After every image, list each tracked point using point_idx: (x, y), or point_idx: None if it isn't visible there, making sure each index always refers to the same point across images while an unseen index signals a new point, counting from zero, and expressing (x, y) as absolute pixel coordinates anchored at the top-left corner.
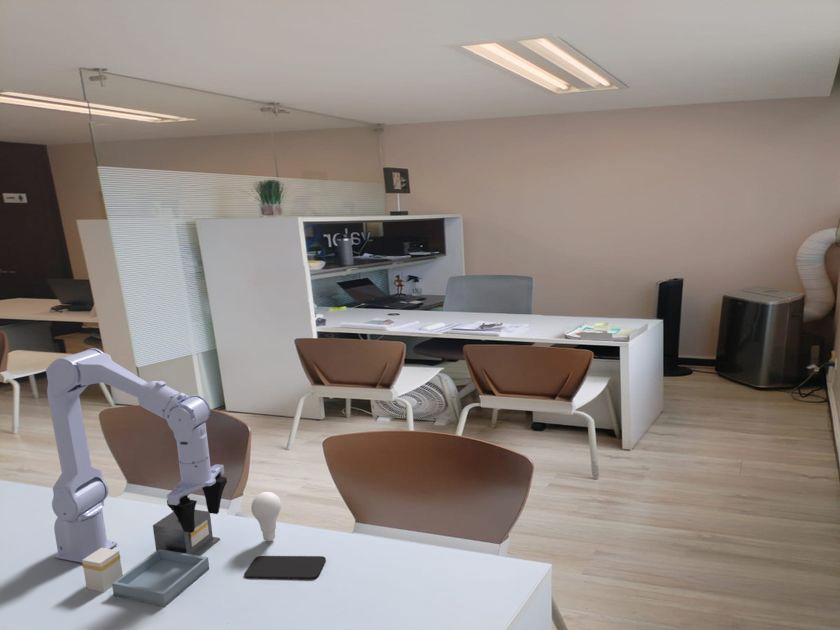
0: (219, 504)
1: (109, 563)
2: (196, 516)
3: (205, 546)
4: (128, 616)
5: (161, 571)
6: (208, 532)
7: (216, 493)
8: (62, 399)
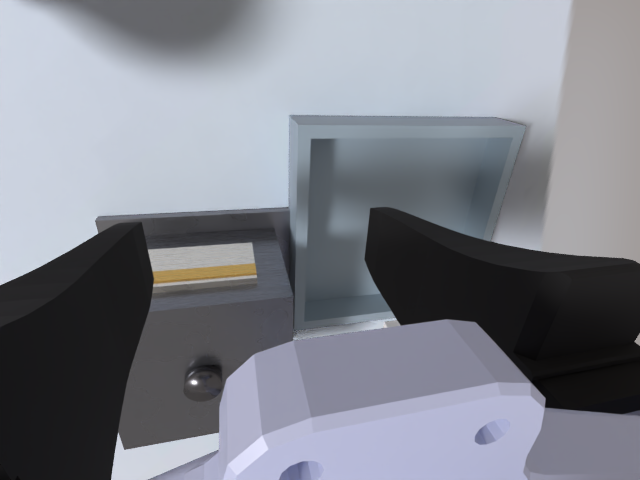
0: (94, 241)
1: None
2: (158, 339)
3: (176, 229)
4: (528, 187)
5: (354, 253)
6: None
7: (76, 314)
8: None
